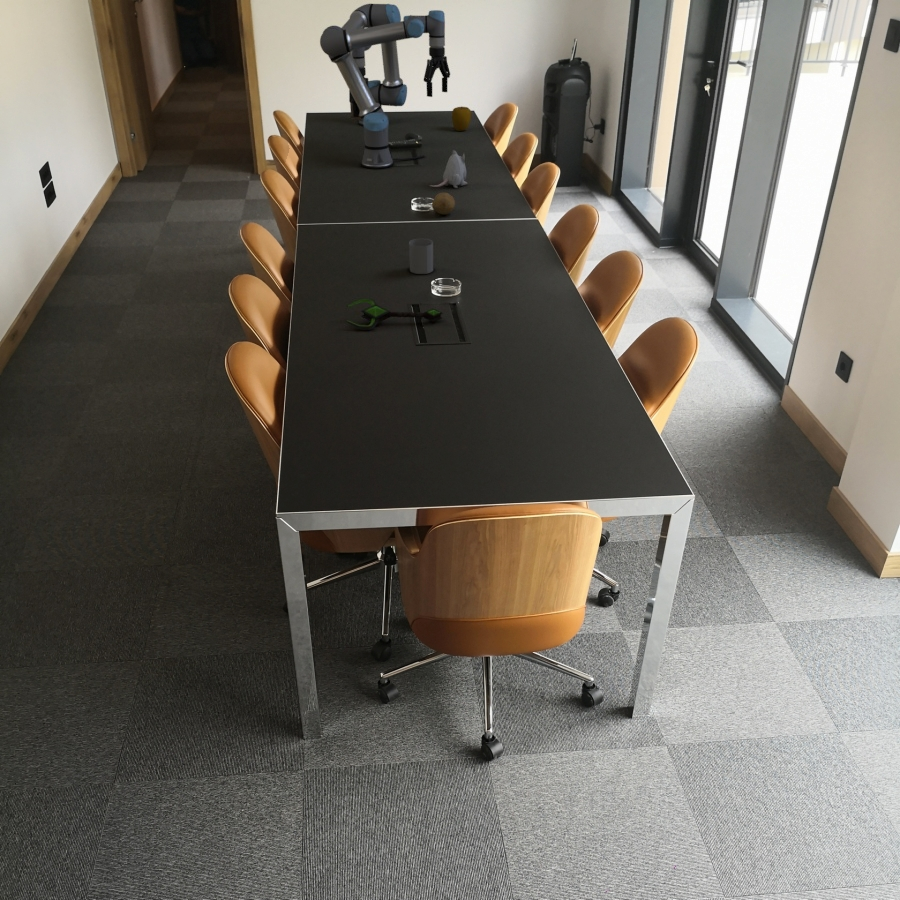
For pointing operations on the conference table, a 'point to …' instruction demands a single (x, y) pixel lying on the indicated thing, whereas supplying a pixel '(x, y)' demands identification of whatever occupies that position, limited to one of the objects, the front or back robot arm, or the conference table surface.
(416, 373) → the conference table surface
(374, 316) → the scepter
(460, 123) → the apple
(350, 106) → the block
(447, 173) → the toy
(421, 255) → the cup
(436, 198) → the potato
